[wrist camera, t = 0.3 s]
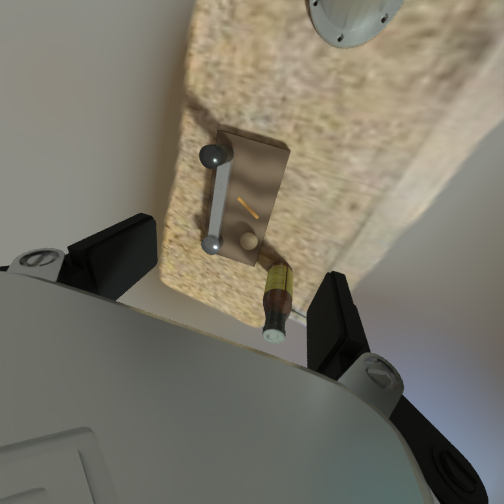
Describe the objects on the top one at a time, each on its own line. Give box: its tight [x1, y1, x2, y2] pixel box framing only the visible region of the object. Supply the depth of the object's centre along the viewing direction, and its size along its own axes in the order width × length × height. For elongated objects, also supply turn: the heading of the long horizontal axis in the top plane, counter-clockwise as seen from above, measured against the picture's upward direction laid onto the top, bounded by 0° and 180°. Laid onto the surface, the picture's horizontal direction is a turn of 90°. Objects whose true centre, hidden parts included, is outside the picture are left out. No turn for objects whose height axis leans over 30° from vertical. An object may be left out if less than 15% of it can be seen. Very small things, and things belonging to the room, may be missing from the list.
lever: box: [199, 143, 235, 255], centre depth 40 cm, size 24×4×10 cm, turn 166°
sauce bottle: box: [262, 262, 293, 344], centre depth 44 cm, size 6×6×20 cm
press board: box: [204, 130, 291, 267], centre depth 43 cm, size 27×14×6 cm, turn 166°
